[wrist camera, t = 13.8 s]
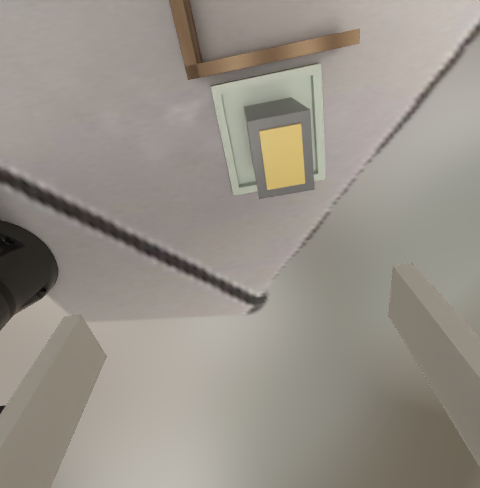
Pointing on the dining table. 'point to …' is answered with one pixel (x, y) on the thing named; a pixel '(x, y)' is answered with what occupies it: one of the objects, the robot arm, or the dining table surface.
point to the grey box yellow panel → (280, 146)
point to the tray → (259, 91)
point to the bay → (201, 69)
